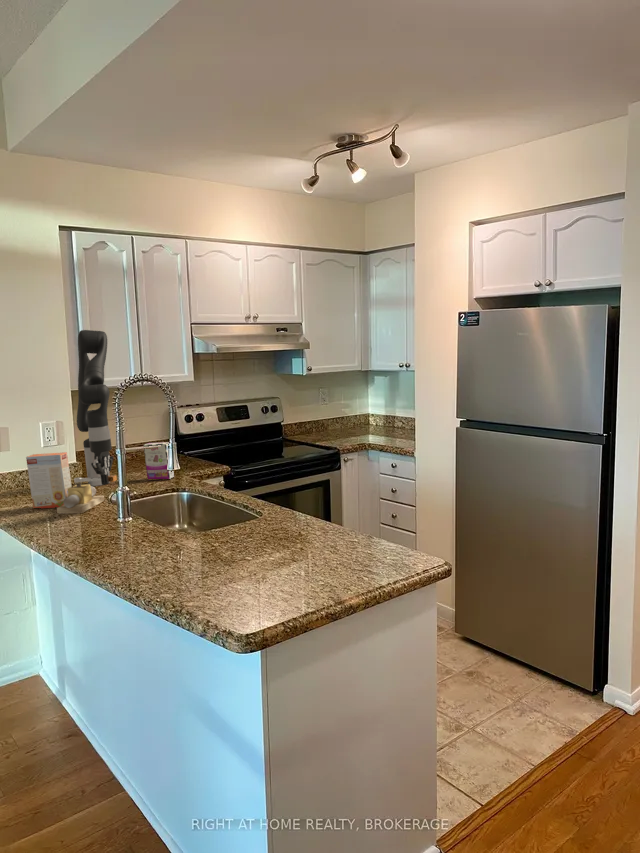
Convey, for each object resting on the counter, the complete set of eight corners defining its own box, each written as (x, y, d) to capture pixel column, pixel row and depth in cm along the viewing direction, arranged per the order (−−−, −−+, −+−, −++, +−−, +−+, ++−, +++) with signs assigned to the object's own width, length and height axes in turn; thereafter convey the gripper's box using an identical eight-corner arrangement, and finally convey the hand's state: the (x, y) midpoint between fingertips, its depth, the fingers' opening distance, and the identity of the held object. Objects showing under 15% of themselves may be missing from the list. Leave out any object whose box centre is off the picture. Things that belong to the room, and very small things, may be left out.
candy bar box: (174, 477, 283) (171, 441, 281) (169, 480, 278) (165, 443, 276) (152, 477, 286) (148, 442, 284) (147, 480, 281) (142, 444, 279)
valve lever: (73, 484, 239) (72, 478, 238) (77, 482, 242) (76, 476, 241) (113, 482, 236) (112, 476, 236) (117, 480, 239) (116, 475, 239)
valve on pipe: (81, 501, 250) (78, 479, 249) (104, 500, 249) (101, 478, 248) (57, 513, 234) (54, 490, 232) (82, 512, 232) (79, 489, 231)
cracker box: (74, 503, 248) (67, 451, 245) (67, 507, 242) (59, 454, 239) (41, 505, 249) (33, 453, 246) (32, 509, 243) (25, 456, 240)
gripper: (100, 441, 225) (106, 488, 228) (117, 435, 238) (122, 479, 241) (81, 442, 227) (87, 488, 229) (99, 436, 239) (104, 480, 242)
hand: (105, 484), depth 235 cm, fingers closed
